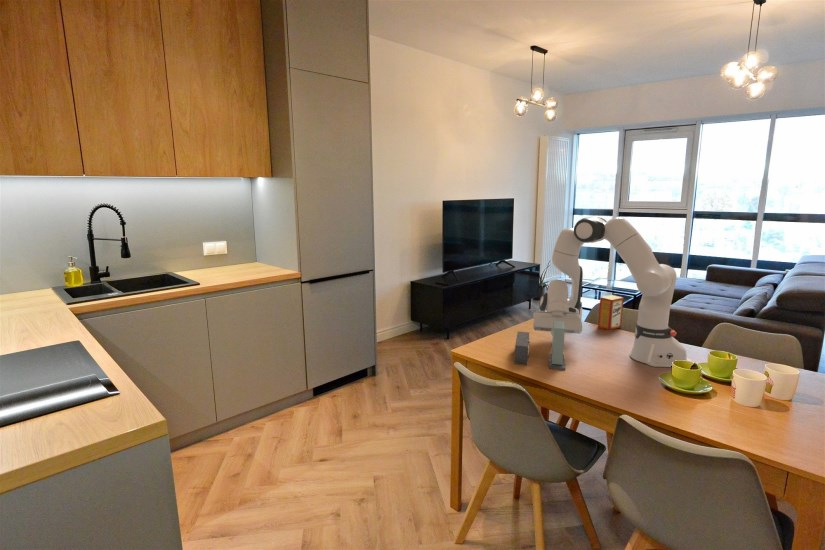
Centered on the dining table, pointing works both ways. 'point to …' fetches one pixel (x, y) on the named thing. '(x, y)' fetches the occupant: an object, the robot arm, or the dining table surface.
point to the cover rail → (555, 366)
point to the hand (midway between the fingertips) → (557, 340)
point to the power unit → (522, 348)
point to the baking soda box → (610, 312)
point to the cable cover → (558, 342)
